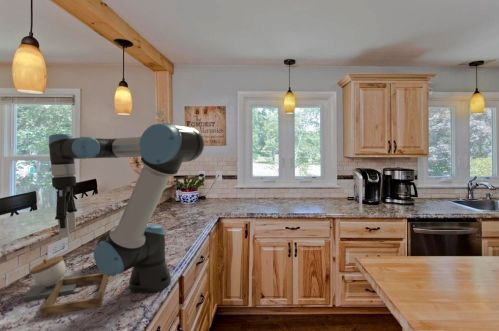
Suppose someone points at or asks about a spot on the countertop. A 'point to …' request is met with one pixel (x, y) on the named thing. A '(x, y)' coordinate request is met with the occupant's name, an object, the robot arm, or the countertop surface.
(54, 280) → the lidded jar
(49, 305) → the pocket frame
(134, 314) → the countertop surface
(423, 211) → the countertop surface
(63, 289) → the trivet
